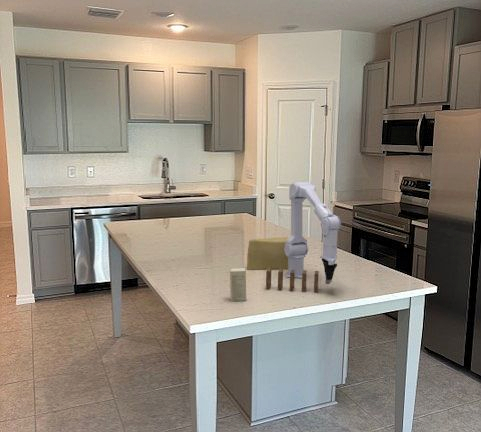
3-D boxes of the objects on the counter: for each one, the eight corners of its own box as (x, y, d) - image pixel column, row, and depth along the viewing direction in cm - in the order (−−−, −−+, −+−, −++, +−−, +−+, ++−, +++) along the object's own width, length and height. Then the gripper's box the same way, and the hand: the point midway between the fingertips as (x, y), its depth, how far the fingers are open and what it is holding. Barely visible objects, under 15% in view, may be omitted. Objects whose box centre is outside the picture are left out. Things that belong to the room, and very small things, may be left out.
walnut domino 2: (277, 290, 203) (278, 271, 201) (278, 286, 208) (279, 268, 206) (281, 290, 202) (281, 272, 201) (282, 287, 207) (283, 268, 206)
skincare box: (245, 297, 193) (246, 267, 191) (246, 301, 189) (246, 270, 187) (229, 297, 193) (230, 267, 191) (229, 301, 189) (230, 270, 187)
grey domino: (325, 284, 199) (326, 265, 198) (327, 280, 203) (328, 262, 202) (329, 284, 198) (329, 265, 197) (331, 281, 203) (332, 262, 202)
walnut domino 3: (289, 291, 202) (290, 272, 201) (290, 287, 207) (291, 269, 205) (293, 291, 202) (293, 272, 200) (294, 287, 206) (294, 269, 205)
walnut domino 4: (301, 291, 201) (302, 273, 200) (302, 288, 206) (302, 270, 205) (305, 292, 201) (306, 273, 199) (306, 288, 206) (306, 270, 204)
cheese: (249, 272, 229) (250, 241, 227) (244, 267, 239) (245, 237, 236) (294, 270, 234) (294, 239, 232) (287, 264, 244) (288, 235, 241)
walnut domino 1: (265, 289, 204) (266, 271, 202) (267, 286, 209) (267, 268, 207) (269, 289, 203) (270, 271, 202) (271, 286, 208) (271, 268, 207)
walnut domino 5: (313, 292, 200) (314, 274, 199) (314, 289, 205) (314, 270, 204) (317, 293, 200) (318, 274, 199) (317, 289, 205) (318, 271, 203)
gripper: (318, 241, 206) (317, 272, 208) (321, 249, 192) (320, 282, 194) (335, 241, 205) (334, 272, 207) (339, 249, 191) (338, 282, 193)
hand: (328, 277), depth 200 cm, fingers closed on grey domino, 5 cm apart
